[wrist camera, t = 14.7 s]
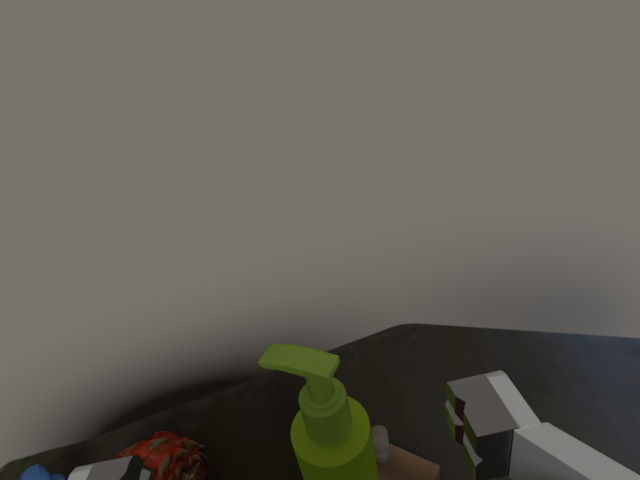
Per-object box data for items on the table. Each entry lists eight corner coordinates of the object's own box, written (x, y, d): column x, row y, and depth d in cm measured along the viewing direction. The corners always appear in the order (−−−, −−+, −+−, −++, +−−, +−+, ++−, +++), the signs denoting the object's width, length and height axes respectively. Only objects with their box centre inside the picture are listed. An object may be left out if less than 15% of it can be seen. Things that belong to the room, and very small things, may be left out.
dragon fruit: (233, 498, 42) (129, 533, 43) (218, 415, 46) (122, 448, 46) (197, 518, 35) (71, 561, 35) (182, 417, 38) (68, 456, 39)
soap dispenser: (324, 472, 39) (282, 320, 30) (392, 497, 36) (370, 336, 27) (298, 536, 35) (238, 381, 25) (373, 570, 32) (338, 409, 22)
